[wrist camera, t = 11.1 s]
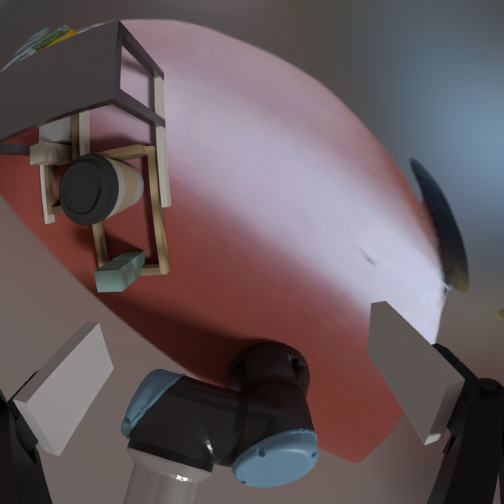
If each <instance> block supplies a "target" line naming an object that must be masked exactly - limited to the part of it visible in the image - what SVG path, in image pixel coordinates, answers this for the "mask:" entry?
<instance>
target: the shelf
mask: <svg viewBox="0 0 504 504" xmlns="http://www.w3.org/2000/svg"><path fill="white" fill-rule="evenodd" d="M122 46H123V47H124V48H125V49H126V50H127V51H128V52H129V53H130V54H131V55H132V56H133V57H134V58H135V59H136V60H137V61H138V62H139V63H140V64H141V65H142V66H143V67H144V68H145V69H146V70H147V71H148V72H149V73H150V74H151V75H152V76H153V77H154V78H158V77H161V78H162V79H163V80H164V73H163V71H162V70H161V69H160V68H159V67H158V65H157V64H156V63H155V62H154V60H153V59H152V58H151V57H150V56H149V54H148V53H147V52H146V51H145V50H144V49H143V47H142V46H141V45H140V44H139V43H138V41H137V40H136V39H135V38H134V37H133V36H132V34H131V33H130V32H129V31H128V30H127V29H126V28H125V26H124V25H123V24H122V23H121V22H120V21H119V20H116V21H113V22H110V23H107V24H104V25H101V26H98V27H95V28H92V29H89V30H87V31H84V32H81V33H79V34H76V35H74V36H71V37H69V38H67V39H64V40H62V41H60V42H58V43H55V44H53V45H51V46H49V47H47V48H45V49H43V50H41V51H39V52H37V53H35V54H33V55H31V56H29V57H27V58H25V59H23V60H21V61H20V62H18V63H16V64H14V65H12V66H11V67H9V68H7V69H6V70H4V71H2V72H1V73H0V155H27V156H30V146H29V145H17V144H3V143H2V142H5V141H7V140H9V139H11V138H14V137H16V136H18V135H21V134H23V133H25V132H28V131H30V130H33V129H35V128H38V127H41V126H43V125H46V124H49V123H51V122H54V121H57V120H60V119H63V118H66V117H69V116H72V115H75V114H78V113H81V112H85V111H88V110H91V109H95V108H99V107H102V106H106V105H110V104H113V105H115V106H116V107H118V108H120V109H122V110H124V111H126V112H128V113H130V114H132V115H134V116H135V117H137V118H139V119H141V120H143V121H145V122H147V123H148V124H150V125H152V126H154V127H164V128H165V119H163V118H162V117H160V116H159V115H158V114H156V113H155V112H153V111H152V110H150V109H149V108H147V107H146V106H145V105H143V104H142V103H140V102H139V101H137V100H136V99H134V98H133V97H131V96H130V95H128V94H127V93H125V92H124V91H122V90H121V89H120V74H121V51H122Z"/></svg>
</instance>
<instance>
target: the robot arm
mask: <svg viewBox="0 0 504 504" xmlns="http://www.w3.org/2000/svg"><path fill="white" fill-rule="evenodd" d="M367 353H368V355H369V357H370V358H371V360H372V361H373V363H374V364H375V366H376V367H377V369H378V371H379V372H380V374H381V375H382V377H383V378H384V380H385V382H386V383H387V385H388V386H389V388H390V390H391V391H392V393H393V394H394V396H395V398H396V399H397V401H398V403H399V404H400V406H401V407H402V409H403V411H404V412H405V414H406V416H407V417H408V419H409V421H410V422H411V424H412V425H413V427H414V429H415V430H416V432H417V434H418V435H419V437H420V439H421V441H422V442H423V444H424V445H426V444H429V443H431V442H434V441H437V440H439V439H441V438H442V437H443V435H444V432H445V430H446V428H448V429H449V431H450V432H451V436H450V438H449V440H448V442H447V444H446V446H445V448H444V450H443V453H445V454H444V458H443V461H442V464H441V467H440V470H439V473H438V476H437V479H436V482H435V484H434V487H433V490H432V492H431V495H430V497H429V500H428V502H427V504H492V503H493V498H494V494H495V489H496V483H497V478H498V472H499V482H500V500H501V504H504V386H503V387H502V385H501V384H500V383H499V382H497V381H495V380H493V379H489V378H482V379H478V378H477V377H476V376H475V375H474V374H473V373H472V372H471V371H470V370H469V369H468V368H467V367H466V366H465V365H464V364H463V363H462V362H460V360H459V359H458V358H457V357H456V356H454V354H452V352H451V351H450V350H449V349H447V348H446V347H444V346H441V345H439V344H438V343H437V344H433V345H431V344H430V343H429V342H428V341H427V340H426V339H425V338H424V337H423V336H422V335H421V334H420V333H419V332H418V331H417V330H416V329H415V328H413V327H412V326H411V325H410V324H409V323H408V322H407V321H406V320H405V319H404V318H403V317H402V316H401V315H400V314H399V313H398V312H397V311H396V310H395V309H394V308H393V307H391V306H390V305H389V304H388V303H387V302H386V301H383V302H376V303H371V315H370V328H369V339H368V349H367ZM113 369H114V368H113V365H112V363H111V360H110V357H109V354H108V351H107V347H106V344H105V341H104V338H103V334H102V332H101V328H100V324H99V323H86V324H85V325H84V326H83V327H82V328H81V329H80V330H79V331H78V332H77V333H76V334H75V335H74V336H73V337H72V338H71V339H70V340H69V341H68V342H67V343H66V344H65V345H64V346H63V347H62V348H61V349H60V350H59V351H58V352H57V353H56V354H55V355H54V356H53V357H52V358H51V359H50V360H49V361H48V362H47V363H46V364H45V365H44V366H43V367H42V368H41V369H40V370H38V371H37V372H35V373H34V374H33V375H32V376H31V377H30V378H29V379H28V381H26V382H25V383H24V385H23V386H22V387H21V388H20V389H19V390H18V391H17V392H16V393H15V394H14V395H13V396H12V397H11V399H10V400H9V401H8V402H7V401H6V399H5V397H4V395H3V393H2V391H1V389H0V504H52V501H51V498H50V494H49V491H48V487H47V484H46V480H45V476H44V473H43V469H42V465H41V460H40V456H39V452H38V450H37V449H36V447H35V446H36V444H37V443H38V442H39V443H40V445H41V446H42V448H43V449H44V450H45V452H48V453H51V454H54V455H57V456H60V454H61V452H62V451H63V449H64V447H65V446H66V444H67V442H68V441H69V439H70V437H71V436H72V434H73V432H74V430H75V429H76V427H77V425H78V424H79V422H80V421H81V419H82V417H83V416H84V414H85V413H86V411H87V409H88V408H89V406H90V405H91V403H92V401H93V400H94V398H95V397H96V395H97V394H98V392H99V390H100V389H101V387H102V386H103V384H104V383H105V381H106V380H107V378H108V377H109V375H110V373H111V372H112V370H113ZM309 383H310V373H309V369H308V365H307V363H306V360H305V359H304V357H303V356H302V355H301V354H300V353H299V352H298V351H297V350H295V349H294V348H292V347H289V346H287V345H284V344H279V343H262V344H257V345H254V346H251V347H249V348H247V349H245V350H244V351H242V352H241V353H240V354H238V355H237V356H236V357H235V359H234V360H233V361H232V363H231V365H230V368H229V373H228V386H229V389H227V388H223V387H220V386H216V385H213V384H209V383H206V382H203V381H200V380H196V379H193V378H191V377H188V376H186V375H185V374H177V373H174V372H170V371H167V370H164V369H156V370H153V371H151V372H150V373H149V374H148V375H147V376H146V377H145V378H144V380H143V381H142V382H141V384H140V385H139V387H138V389H137V390H136V392H135V394H134V396H133V398H132V400H131V402H130V404H129V406H128V408H127V411H126V416H125V418H124V420H123V422H122V426H121V432H122V434H123V435H124V436H125V437H126V438H127V439H129V438H130V440H129V443H128V447H127V451H128V453H129V455H130V456H131V458H132V460H133V463H134V467H133V470H132V473H131V477H130V480H129V484H128V488H127V491H126V494H125V498H124V502H123V504H192V503H193V499H194V495H195V490H196V486H197V484H198V483H199V482H200V481H201V480H203V479H205V478H207V477H209V476H210V475H211V474H212V469H213V465H214V464H217V465H222V466H227V467H231V468H232V472H233V474H234V477H235V478H236V479H237V480H238V481H241V483H243V484H245V485H248V486H252V487H261V488H264V487H275V486H280V485H283V484H287V483H289V482H292V481H295V480H297V479H299V478H301V477H302V476H304V475H305V474H307V473H308V472H309V471H310V470H311V469H312V468H313V467H314V465H315V463H316V461H317V458H318V446H317V435H316V433H315V432H314V428H313V424H312V420H311V416H310V412H309V408H308V404H307V400H306V395H307V391H308V387H309Z"/></svg>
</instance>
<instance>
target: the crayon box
mask: <svg viewBox="0 0 504 504" xmlns="http://www.w3.org/2000/svg"><path fill="white" fill-rule="evenodd" d="M56 33H58V35H56V36H55V37H54V38H53V39H52V40H49V41H47V42H46V43H43V42H44V41H45V40H47V39H48V38H49V37H50V36H53V35H54V34H56ZM76 34H77V33H76V32H75V31H73V30H72V29H70V28H69V27H67V26H66V25H64V26H62V27H61V28H59V29H58V30H56V31H55V32H53V33H52V34H50V35H48V36H47V37H46V38H44V39H43V40H41V41H40V42H38V43H37V44H36V45H34V46H33V47H31V48H33V49H35V50H37V52H39V51H41V50H43V49H45V48H47V47H49V46H51V45H53V44H55V43H58V42H60V41H62V40H64V39H67V38H69V37H71V36H74V35H76Z"/></svg>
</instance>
